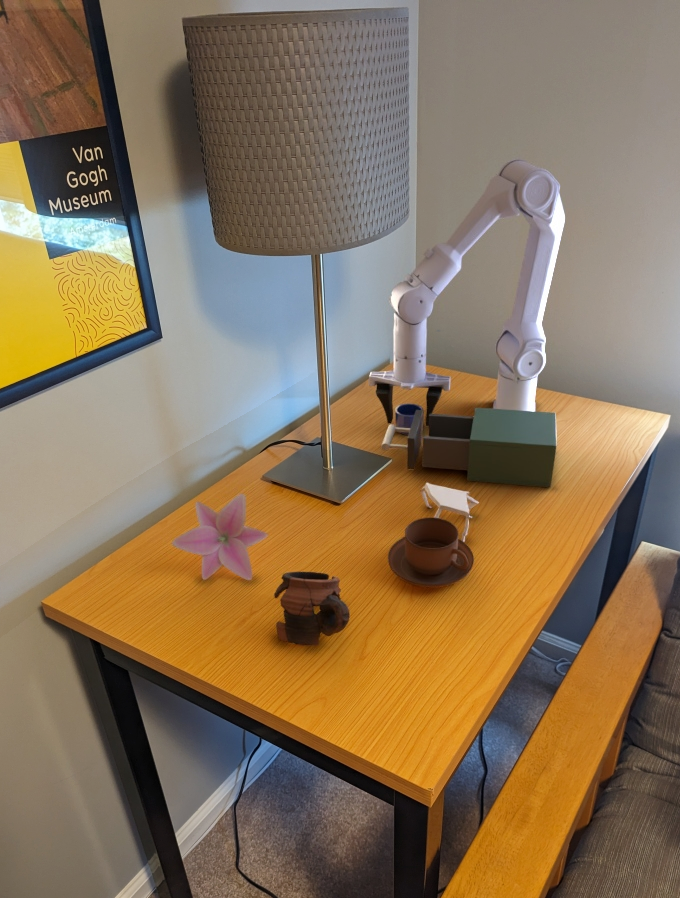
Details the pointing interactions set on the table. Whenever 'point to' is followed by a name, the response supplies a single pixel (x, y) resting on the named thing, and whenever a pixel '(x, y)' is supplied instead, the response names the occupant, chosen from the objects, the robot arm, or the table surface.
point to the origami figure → (449, 502)
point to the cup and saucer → (431, 554)
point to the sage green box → (512, 447)
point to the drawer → (435, 441)
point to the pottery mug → (310, 607)
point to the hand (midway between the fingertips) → (409, 422)
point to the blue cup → (406, 415)
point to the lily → (222, 538)
